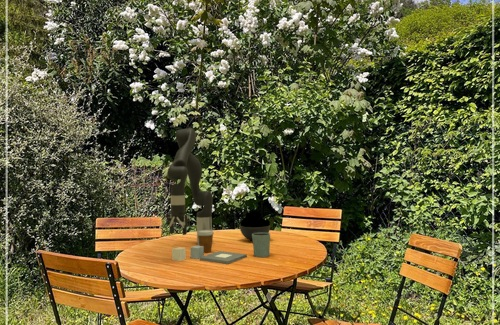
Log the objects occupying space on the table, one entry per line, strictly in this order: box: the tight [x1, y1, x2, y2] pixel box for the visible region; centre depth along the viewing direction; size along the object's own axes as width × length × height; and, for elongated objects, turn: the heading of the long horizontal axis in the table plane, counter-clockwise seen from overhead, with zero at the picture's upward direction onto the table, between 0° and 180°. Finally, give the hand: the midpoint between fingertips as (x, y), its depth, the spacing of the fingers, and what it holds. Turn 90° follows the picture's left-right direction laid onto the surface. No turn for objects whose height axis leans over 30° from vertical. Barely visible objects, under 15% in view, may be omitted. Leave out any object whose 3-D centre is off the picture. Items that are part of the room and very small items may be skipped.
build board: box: [199, 250, 248, 265], centre depth 233 cm, size 18×18×2 cm
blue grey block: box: [190, 245, 205, 260], centre depth 236 cm, size 5×5×6 cm
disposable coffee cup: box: [196, 230, 214, 254], centre depth 250 cm, size 10×10×12 cm
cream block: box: [171, 246, 187, 262], centre depth 232 cm, size 5×5×6 cm
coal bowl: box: [239, 210, 271, 242], centre depth 282 cm, size 20×20×19 cm
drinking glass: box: [252, 232, 271, 258], centre depth 239 cm, size 10×10×12 cm
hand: (178, 234), depth 232 cm, fingers open, 8 cm apart
